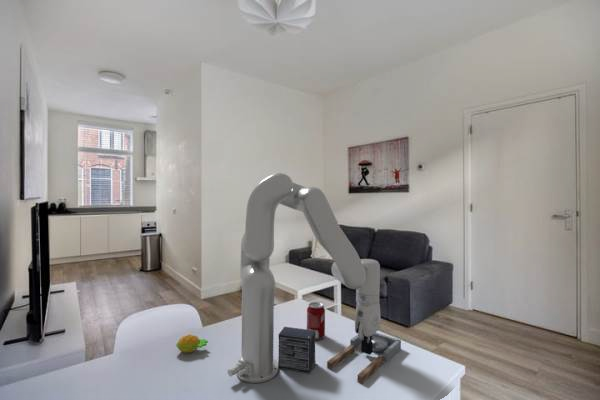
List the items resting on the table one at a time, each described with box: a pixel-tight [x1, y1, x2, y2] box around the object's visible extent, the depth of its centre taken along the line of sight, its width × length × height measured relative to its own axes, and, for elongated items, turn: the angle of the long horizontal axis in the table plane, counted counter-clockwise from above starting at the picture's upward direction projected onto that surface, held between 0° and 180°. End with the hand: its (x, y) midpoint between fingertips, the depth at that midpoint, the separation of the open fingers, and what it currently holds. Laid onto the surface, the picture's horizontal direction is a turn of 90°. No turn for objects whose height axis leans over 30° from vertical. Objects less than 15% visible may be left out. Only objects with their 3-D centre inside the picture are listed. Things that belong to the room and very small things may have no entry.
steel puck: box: [371, 336, 388, 355], centre depth 104 cm, size 7×7×3 cm
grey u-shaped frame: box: [349, 331, 402, 363], centre depth 104 cm, size 11×13×3 cm
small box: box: [278, 326, 316, 374], centre depth 93 cm, size 11×6×10 cm, turn 74°
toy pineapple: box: [175, 334, 209, 354], centre depth 101 cm, size 7×10×5 cm
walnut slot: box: [326, 344, 385, 385], centre depth 93 cm, size 14×12×2 cm
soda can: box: [306, 301, 326, 341], centre depth 112 cm, size 7×7×12 cm
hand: (366, 352), depth 99 cm, fingers closed
